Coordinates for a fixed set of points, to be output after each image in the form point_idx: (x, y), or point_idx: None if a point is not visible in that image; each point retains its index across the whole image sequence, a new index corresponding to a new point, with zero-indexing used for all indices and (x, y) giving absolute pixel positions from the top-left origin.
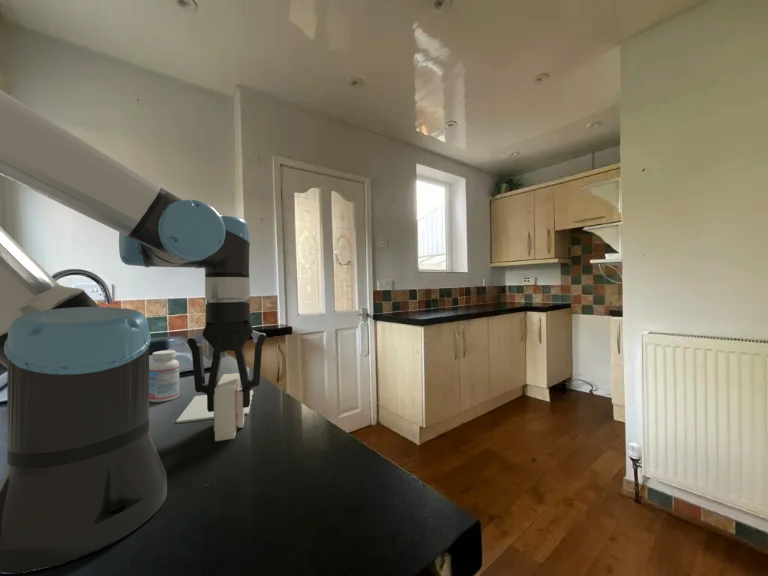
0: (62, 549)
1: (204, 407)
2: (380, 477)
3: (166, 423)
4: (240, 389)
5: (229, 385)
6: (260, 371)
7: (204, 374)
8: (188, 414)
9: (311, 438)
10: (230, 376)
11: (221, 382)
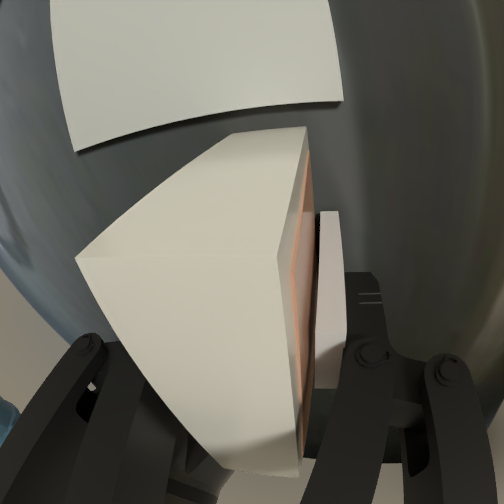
0: None
1: (102, 13)
2: None
3: (57, 146)
4: (324, 349)
5: (274, 469)
6: (481, 438)
7: (63, 404)
8: (78, 89)
9: (481, 353)
10: (204, 373)
11: (210, 441)
